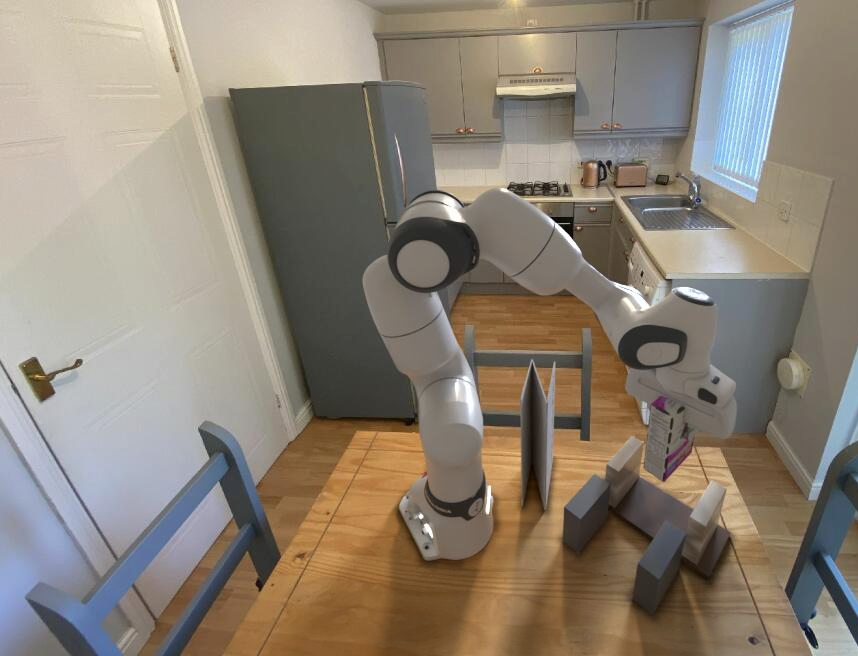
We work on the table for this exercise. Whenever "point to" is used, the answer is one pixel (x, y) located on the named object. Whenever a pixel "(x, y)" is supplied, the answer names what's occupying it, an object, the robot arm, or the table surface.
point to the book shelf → (666, 509)
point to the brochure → (537, 431)
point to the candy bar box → (666, 438)
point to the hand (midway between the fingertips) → (672, 430)
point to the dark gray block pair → (656, 561)
